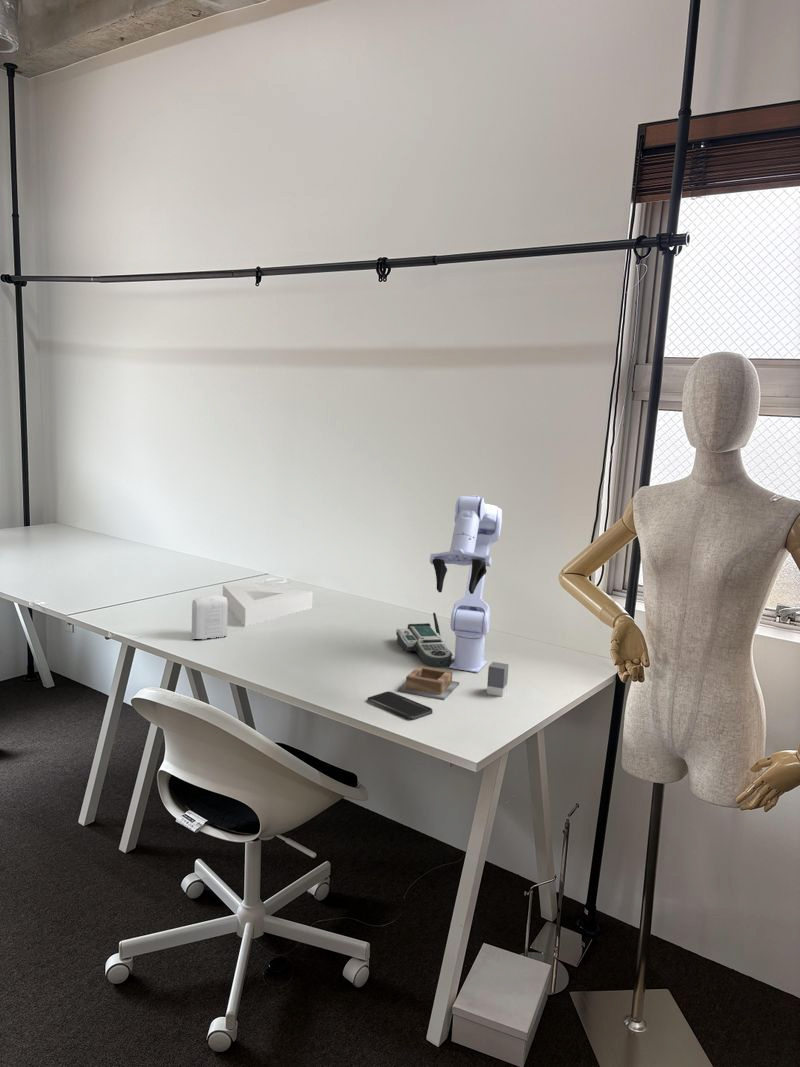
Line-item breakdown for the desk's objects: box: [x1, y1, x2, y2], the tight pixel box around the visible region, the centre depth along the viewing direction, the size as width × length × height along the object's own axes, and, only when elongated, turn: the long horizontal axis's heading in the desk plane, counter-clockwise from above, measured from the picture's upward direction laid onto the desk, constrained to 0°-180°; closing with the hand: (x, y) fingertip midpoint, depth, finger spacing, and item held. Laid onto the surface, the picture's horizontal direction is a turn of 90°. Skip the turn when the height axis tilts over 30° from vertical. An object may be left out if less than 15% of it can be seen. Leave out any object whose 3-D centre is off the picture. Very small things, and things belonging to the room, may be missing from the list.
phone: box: [366, 691, 433, 721], centre depth 196 cm, size 8×1×15 cm
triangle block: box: [222, 584, 314, 628], centre depth 263 cm, size 30×26×6 cm
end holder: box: [397, 665, 460, 701], centre depth 208 cm, size 12×12×4 cm
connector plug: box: [486, 661, 510, 697], centre depth 207 cm, size 4×4×7 cm
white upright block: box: [191, 594, 229, 640], centre depth 239 cm, size 10×4×12 cm, turn 123°
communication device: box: [395, 612, 453, 668], centre depth 234 cm, size 12×24×9 cm, turn 15°
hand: (454, 591), depth 195 cm, fingers open, 7 cm apart
